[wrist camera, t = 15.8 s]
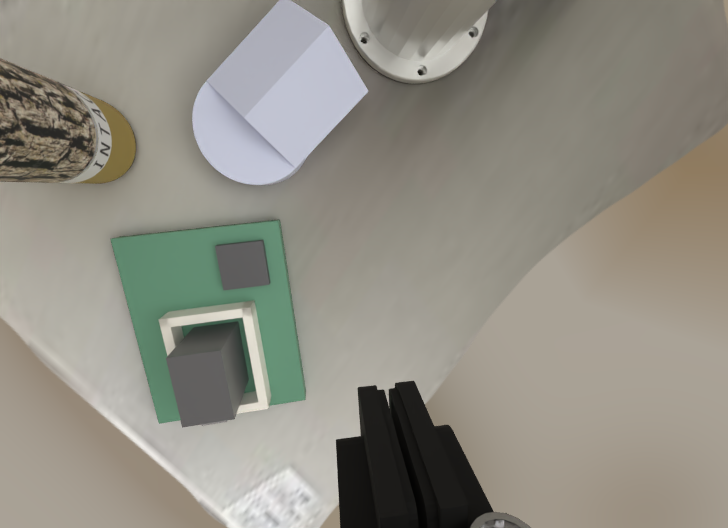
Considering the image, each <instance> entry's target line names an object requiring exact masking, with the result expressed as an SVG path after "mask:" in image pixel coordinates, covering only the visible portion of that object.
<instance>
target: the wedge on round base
mask: <svg viewBox="0 0 728 528" xmlns="http://www.w3.org/2000/svg"><path fill="white" fill-rule="evenodd" d="M367 92H368V90H367V88H366V86H365V85H364V83H363V81H362V80H361V78H360V76H359V75H358V73H357V71H356V70H355V68H354V66H353V65H352V63H351V61H350V59H349V58H348V56H347V54H346V53H345V51H344V49H343V48H342V46H341V44H340V43H339V41H338V39H337V38H336V36H335V34H334V33H333V31H332V29H331V28H330V26H329V25H328V24H326V23H325V22H323V21H322V20H320V19H319V18H317V17H316V16H314V15H313V14H311V13H310V12H308V11H307V10H305V9H304V8H302V7H300V6H299V5H297V4H296V3H294V2H293V1H291V0H279V1H278V2H277V3H276V4H275V6H274V7H273V8H272V9H271V10H270V11H269V12H268V13H267V14H266V15H265V17H264V18H263V19H262V20H261V21H260V22H259V23H258V24H257V25H256V27H255V28H254V29H253V30H252V31H251V32H250V33H249V34H248V35H247V36H246V38H245V39H244V40H243V41H242V42H241V43H240V44H239V45H238V46H237V47H236V49H235V50H234V51H233V52H232V53H231V54H230V55H229V56H228V57H227V59H226V60H225V61H224V62H223V63H222V64H221V65H220V66H219V67H218V68H217V70H216V71H215V72H214V73H213V74H212V75H211V76H210V77H209V78H208V79H207V81H206V82H205V83H204V84H203V86H202V87H201V89H200V91H199V92H198V94H197V97H196V100H195V102H194V107H193V115H192V123H193V131H194V136H195V138H196V141H197V144H198V146H199V148H200V150H201V152H202V154H203V155H204V157H205V158H206V159H207V161H208V162H209V163H210V164H211V165H212V166H213V167H214V168H215V169H216V170H217V171H219V172H220V173H222V174H223V175H224V176H226V177H228V178H230V179H232V180H235V181H237V182H240V183H245V184H251V185H271V184H276V183H279V182H282V181H284V180H286V179H288V178H289V177H291V176H292V175H294V174H295V173H296V172H297V171H298V170H299V169H300V167H301V166H302V165H303V163H304V162H305V160H306V158H307V156H308V155H309V154H310V153H311V152H312V151H313V150H314V148H315V147H316V146H317V145H318V144H319V143H320V142H321V141H322V140H323V139H324V138H325V137H326V136H327V135H328V134H329V133H330V132H331V130H332V129H333V128H334V127H335V126H336V125H337V124H338V123H339V122H340V121H341V120H342V119H343V118H344V117H345V116H346V115H347V114H348V113H349V111H350V110H351V109H352V108H353V107H354V106H355V105H356V104H357V103H358V102H359V101H360V100H361V99H362V98H363V97H364V96H365V95H366V93H367Z"/></svg>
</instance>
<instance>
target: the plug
mask: <svg viewBox="0 0 728 528" xmlns="http://www.w3.org/2000/svg"><path fill="white" fill-rule="evenodd" d="M166 361H167V365H168V369H169V374H170V378H171V382H172V386H173V390H174V394H175V399H176V403H177V407H178V411H179V415H180V419H181V424H182V427H188V426H194V425H202V426H203V425H209V424H215V423H222V422H227V420H232V419H235V416H236V414H237V411H238V408H239V405H240V403H241V400H242V397H243V394H244V392H245V389H246V386H247V383H248V380H249V377H248V371H247V366H246V360H245V355H244V350H243V344H242V339H241V333H240V328H239V322H238V321H237V322H230V323H222V324H214V325H207V326H199V327H193V328H192V330H191V331H190V332H189V333H188V334H187V335H186V336H185V337H184V338H183V340H182V341H181V342H180V343H179V344H178V345H177V346H176V347H175V348H174V350H173V351H172V352H171V353H170V354H169V355H168V356H167V357H166Z"/></svg>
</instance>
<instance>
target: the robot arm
mask: <svg viewBox="0 0 728 528" xmlns="http://www.w3.org/2000/svg"><path fill="white" fill-rule="evenodd" d="M496 1H497V0H342V8H343V16H344V20H345V24H346V27H347V31H348V33H349V35H350V37H351V40H352V42H353V44H354V46H355V47H356V49H357V50H358V51H359V53H360V54H361V56H362V57H363V58H364V59H365V60H366V61H367V62H368V63H369V64H370V65H371V66H372V67H373V68H374V69H375V70H377V71H378V72H380V73H381V74H383V75H384V76H386V77H389V78H391V79H393V80H396V81H399V82H405V83H410V84H414V83H427V82H431V81H435V80H438V79H440V78H442V77H444V76H446V75H448V74H449V73H451V72H452V71H453V70H455V69H456V68H457V67H459V66H460V65H461V64H462V63H463V62H464V61H465V60H466V59H467V58H468V57H469V55H470V54H471V53H472V51H473V50H474V49H475V47H476V46H477V44H478V42H479V40H480V38H481V36H482V34H483V30H484V27H485V24H486V21H487V16H488V10H489V8H490V7H491V6H492V5H493V4H494V3H495V2H496ZM469 34H471V36H472V37H471V36H470V35H469ZM361 40H365V41H366V44H363V43H362V42H361ZM417 71H420V72H421V73H422V76H420V75H419V74H418V72H417ZM358 400H359V415H360V429H361V436H359V437H352V438H344V439H337V440H336V449H337V469H338V488H339V508H340V528H531V527H530V526H529V525H527V524H526V523H524V522H523V521H521V520H520V519H518V518H516V517H514V516H512V515H509V514H507V513H500V512H493V510H492V508H491V506H490V504H489V502H488V500H487V498H486V496H485V494H484V492H483V490H482V488H481V486H480V484H479V482H478V480H477V478H476V476H475V474H474V472H473V470H472V468H471V466H470V464H469V462H468V460H467V458H466V456H465V454H464V452H463V450H462V448H461V446H460V444H459V442H458V440H457V438H456V436H455V434H454V432H453V430H452V429H451V427H450V426H449V425H442V426H435V427H434V425H433V423H432V420H431V418H430V416H429V414H428V411H427V409H426V407H425V404H424V402H423V400H422V398H421V395H420V393H419V391H418V388H417V386H416V384H415V382H414V381H408V382H399V383H395V388H393V389H389V406H388V402H387V399H386V395H385V392H384V390H377V387H376V385H374V386H366V387H358ZM389 408H390V409H389Z"/></svg>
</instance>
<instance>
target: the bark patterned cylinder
mask: <svg viewBox="0 0 728 528" xmlns="http://www.w3.org/2000/svg"><path fill="white" fill-rule="evenodd" d="M135 152H136V142H135V137H134V134H133V131H132V129H131V127H130V125H129V123H128V122H127V120H126V119H125V118H124V116H123V115H122V114H121V113H120V112H119V111H117V110H116V109H115V108H114V107H112V106H111V105H109V104H108V103H106V102H104V101H102V100H99V99H97V98H94V97H92V96H89V95H87V94H84V93H82V92H80V91H77V90H75V89H73V88H71V87H68V86H66V85H64V84H61V83H59V82H56V81H54V80H51V79H49V78H47V77H44V76H42V75H39V74H37V73H34V72H32V71H30V70H27V69H25V68H22V67H20V66H17V65H15V64H13V63H10V62H8V61H5V60H3V59H0V181H2V182H42V183H95V184H97V183H106V182H110V181H113V180H116V179H118V178H119V177H121V176H122V175H123V174H125V173H126V172H127V171H128V169H129V168H130V167H131V165H132V163H133V160H134V157H135Z"/></svg>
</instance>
